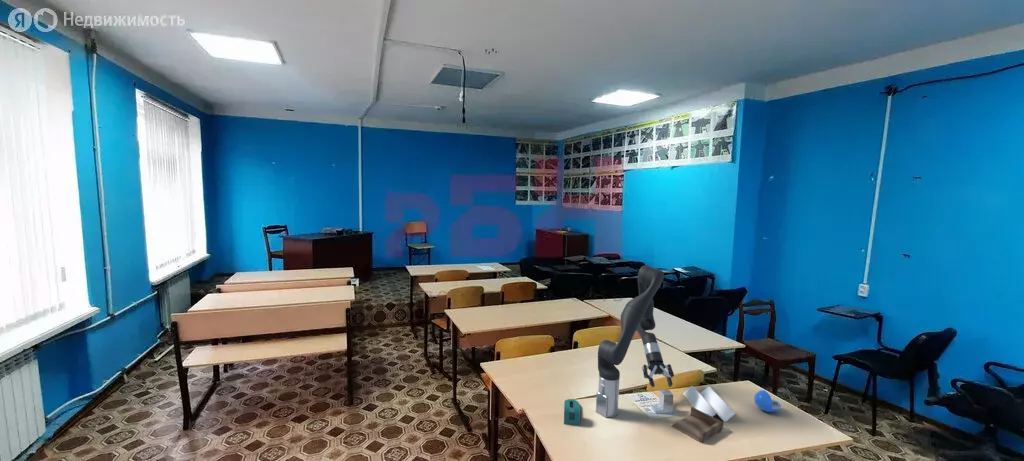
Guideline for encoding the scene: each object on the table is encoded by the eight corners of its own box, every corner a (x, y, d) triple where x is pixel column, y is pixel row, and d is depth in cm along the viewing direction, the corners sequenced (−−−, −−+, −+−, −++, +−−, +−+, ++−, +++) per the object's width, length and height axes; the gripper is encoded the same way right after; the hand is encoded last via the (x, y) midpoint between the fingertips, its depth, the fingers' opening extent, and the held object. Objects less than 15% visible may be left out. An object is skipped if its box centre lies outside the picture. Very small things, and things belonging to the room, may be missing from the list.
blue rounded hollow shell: (786, 416, 186) (788, 396, 185) (762, 416, 185) (764, 396, 184) (771, 404, 195) (773, 385, 194) (748, 405, 195) (749, 386, 194)
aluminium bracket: (667, 408, 190) (668, 390, 189) (672, 413, 185) (673, 394, 185) (651, 408, 189) (652, 390, 188) (655, 413, 185) (656, 395, 184)
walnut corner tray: (701, 443, 164) (702, 434, 163) (671, 426, 175) (671, 417, 175) (722, 430, 173) (722, 421, 172) (691, 415, 184) (692, 407, 184)
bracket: (579, 426, 174) (580, 408, 173) (563, 424, 175) (564, 407, 174) (578, 404, 192) (579, 388, 191) (564, 402, 192) (564, 387, 192)
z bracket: (715, 431, 180) (705, 421, 179) (691, 401, 205) (682, 393, 204) (735, 413, 179) (726, 403, 178) (709, 386, 204) (701, 377, 203)
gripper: (641, 351, 198) (650, 384, 188) (669, 350, 199) (679, 383, 189) (636, 356, 204) (645, 389, 193) (663, 356, 205) (673, 388, 195)
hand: (662, 386), depth 191 cm, fingers open, 8 cm apart
